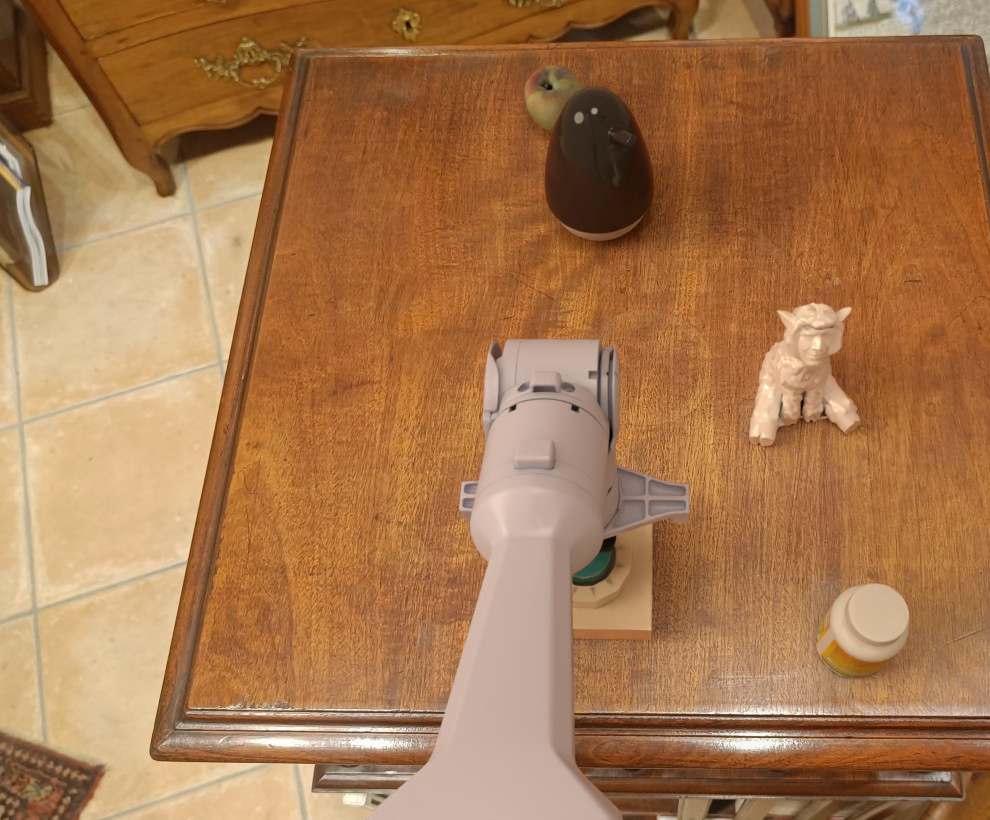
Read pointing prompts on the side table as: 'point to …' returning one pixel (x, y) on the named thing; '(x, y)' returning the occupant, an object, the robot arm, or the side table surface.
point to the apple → (549, 93)
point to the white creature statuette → (802, 375)
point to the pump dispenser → (598, 167)
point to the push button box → (618, 593)
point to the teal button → (594, 568)
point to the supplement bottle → (863, 630)
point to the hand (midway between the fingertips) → (583, 544)
